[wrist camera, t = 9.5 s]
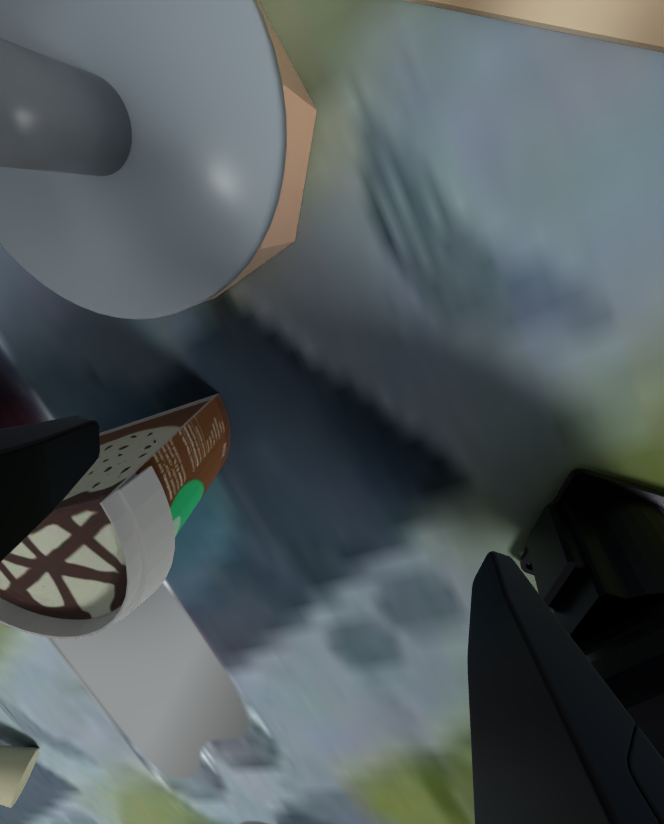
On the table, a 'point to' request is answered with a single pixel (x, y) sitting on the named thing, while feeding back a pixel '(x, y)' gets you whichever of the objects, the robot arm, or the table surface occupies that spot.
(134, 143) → the lid
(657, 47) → the mat
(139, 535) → the food container
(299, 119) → the bowl
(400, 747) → the table surface
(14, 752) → the flower vase
